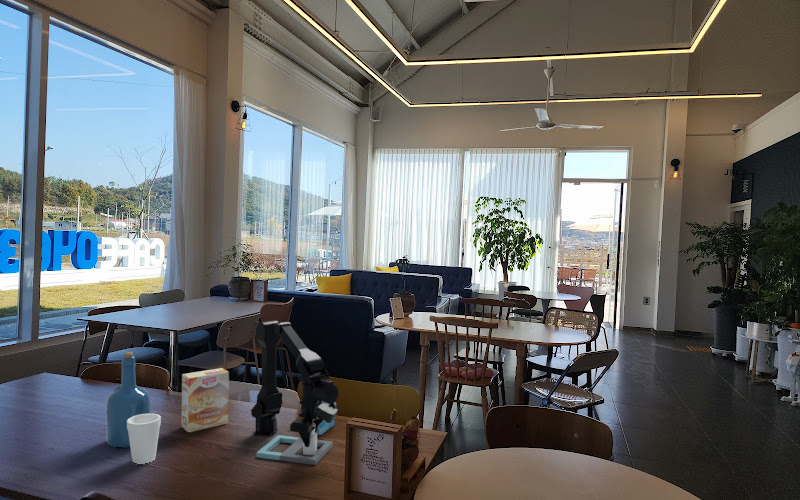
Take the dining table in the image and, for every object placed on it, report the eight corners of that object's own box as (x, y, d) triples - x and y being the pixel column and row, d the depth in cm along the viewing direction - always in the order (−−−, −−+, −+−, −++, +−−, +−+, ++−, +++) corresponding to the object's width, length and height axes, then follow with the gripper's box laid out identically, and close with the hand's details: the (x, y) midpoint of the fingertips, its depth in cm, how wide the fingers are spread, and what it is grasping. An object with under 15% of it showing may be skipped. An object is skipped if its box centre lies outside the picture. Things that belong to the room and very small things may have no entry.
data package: (318, 436, 189) (319, 402, 188) (307, 434, 190) (308, 401, 190) (334, 425, 200) (335, 393, 200) (324, 423, 202) (324, 391, 201)
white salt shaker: (315, 456, 173) (315, 426, 172) (302, 455, 173) (303, 426, 173) (317, 450, 177) (317, 422, 176) (305, 450, 177) (305, 421, 177)
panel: (256, 457, 171) (256, 452, 171) (277, 439, 186) (277, 435, 186) (315, 464, 167) (315, 460, 166) (332, 446, 181) (332, 441, 181)
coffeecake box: (188, 433, 190) (188, 378, 189) (180, 427, 195) (181, 373, 194) (229, 423, 200) (229, 371, 199) (221, 418, 205) (221, 367, 204)
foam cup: (127, 469, 161) (127, 426, 161) (126, 457, 169) (126, 416, 169) (161, 463, 166) (161, 421, 165) (159, 451, 174) (159, 411, 173)
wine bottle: (156, 441, 182) (157, 353, 181) (114, 453, 172) (114, 359, 171) (140, 430, 191) (140, 346, 190) (99, 440, 181) (99, 352, 180)
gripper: (323, 408, 163) (322, 459, 164) (344, 390, 181) (343, 436, 182) (289, 404, 166) (288, 454, 166) (313, 387, 184) (312, 432, 185)
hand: (310, 444), depth 175 cm, fingers closed on white salt shaker, 4 cm apart
